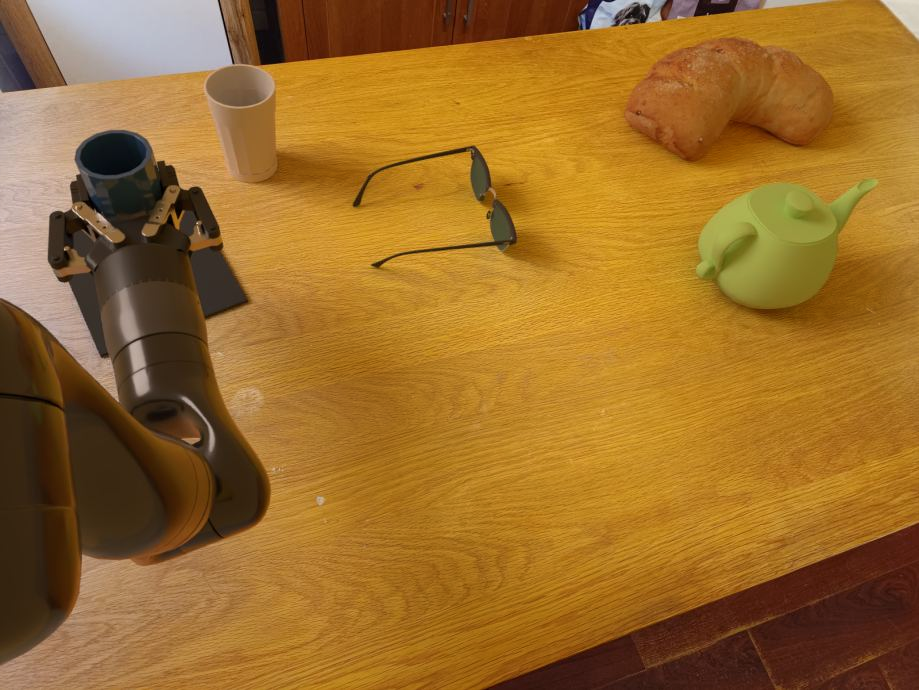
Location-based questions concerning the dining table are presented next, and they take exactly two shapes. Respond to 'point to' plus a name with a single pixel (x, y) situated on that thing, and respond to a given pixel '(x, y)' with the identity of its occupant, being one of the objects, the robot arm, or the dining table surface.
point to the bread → (729, 96)
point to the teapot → (775, 243)
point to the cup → (244, 119)
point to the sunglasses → (481, 185)
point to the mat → (208, 272)
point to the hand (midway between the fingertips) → (123, 174)
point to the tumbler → (119, 174)
